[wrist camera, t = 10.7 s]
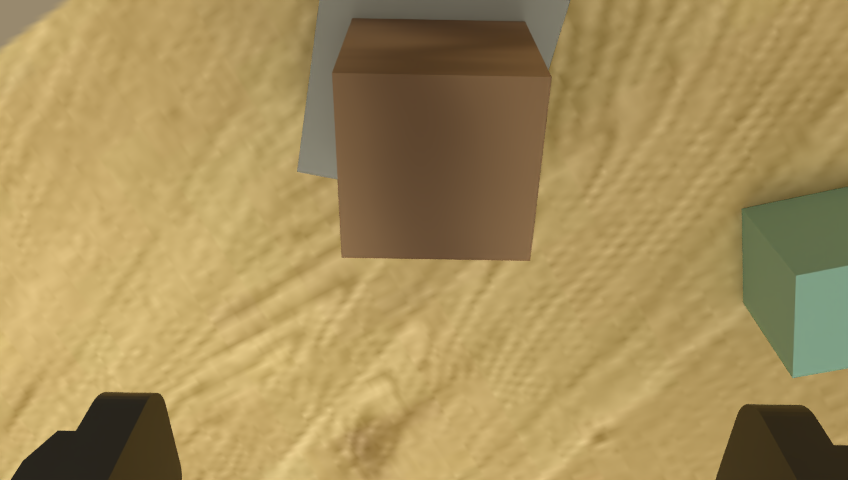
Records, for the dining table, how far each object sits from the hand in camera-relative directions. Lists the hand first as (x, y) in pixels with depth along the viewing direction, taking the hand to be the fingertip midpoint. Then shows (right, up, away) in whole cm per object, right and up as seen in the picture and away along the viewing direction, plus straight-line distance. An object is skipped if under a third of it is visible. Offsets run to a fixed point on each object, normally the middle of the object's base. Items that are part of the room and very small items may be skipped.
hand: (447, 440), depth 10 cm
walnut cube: (0, +7, +11) cm, 14 cm away
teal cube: (+16, +3, +20) cm, 26 cm away
